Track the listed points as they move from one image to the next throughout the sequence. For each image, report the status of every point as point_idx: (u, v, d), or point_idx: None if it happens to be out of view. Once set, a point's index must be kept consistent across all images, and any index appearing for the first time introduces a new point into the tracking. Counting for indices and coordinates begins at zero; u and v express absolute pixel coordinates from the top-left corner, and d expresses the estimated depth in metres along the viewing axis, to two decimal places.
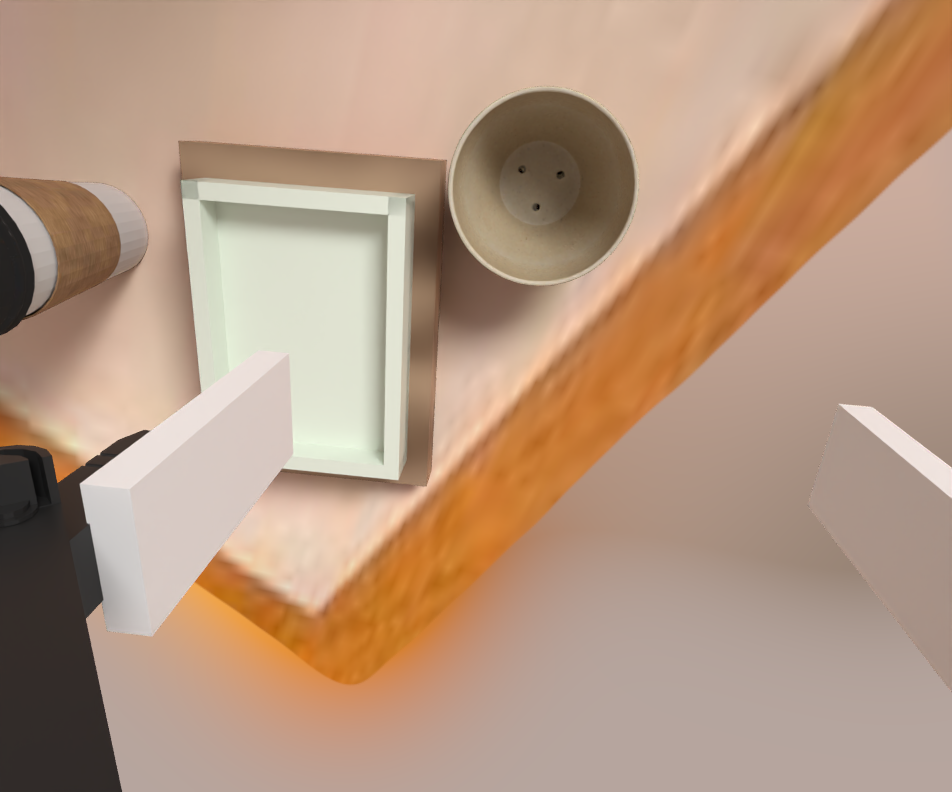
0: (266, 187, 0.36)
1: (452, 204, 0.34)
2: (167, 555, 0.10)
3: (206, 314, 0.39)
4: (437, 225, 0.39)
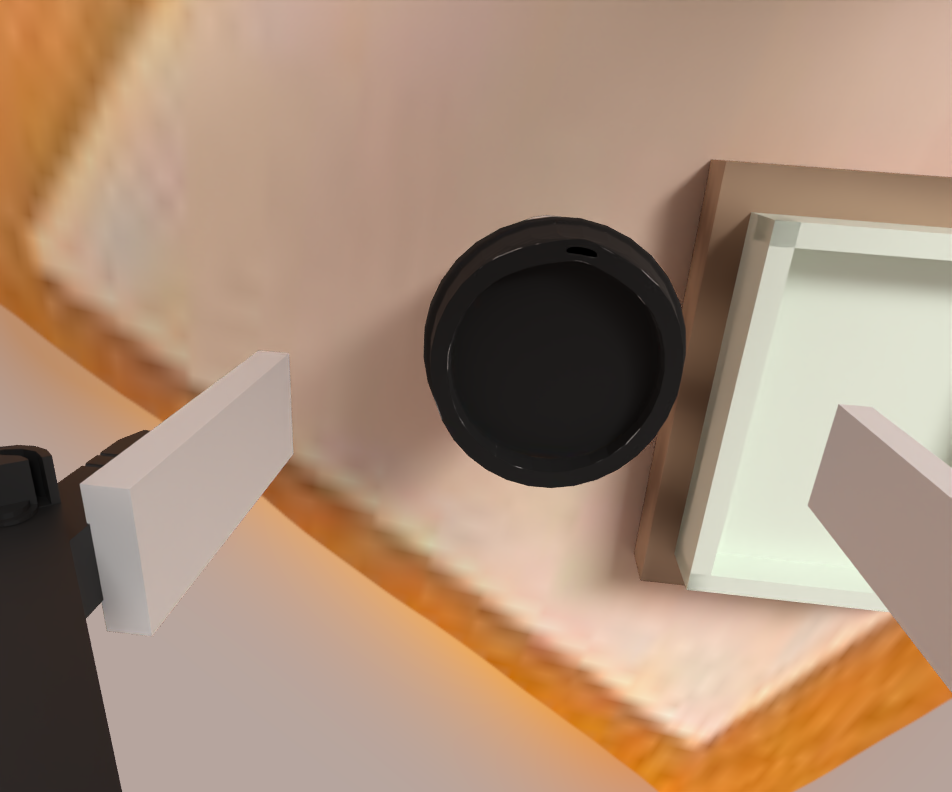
0: (903, 231, 0.25)
1: None
2: (167, 554, 0.10)
3: (750, 403, 0.28)
4: None
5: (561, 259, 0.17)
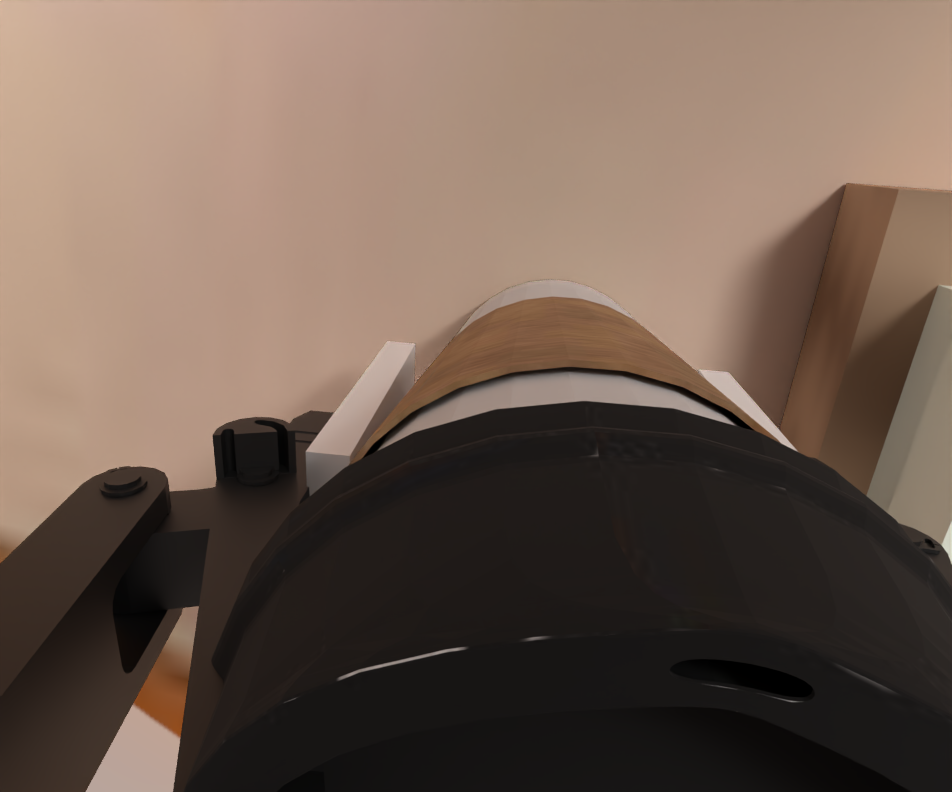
0: None
1: None
2: None
3: None
4: None
5: (643, 700, 0.04)
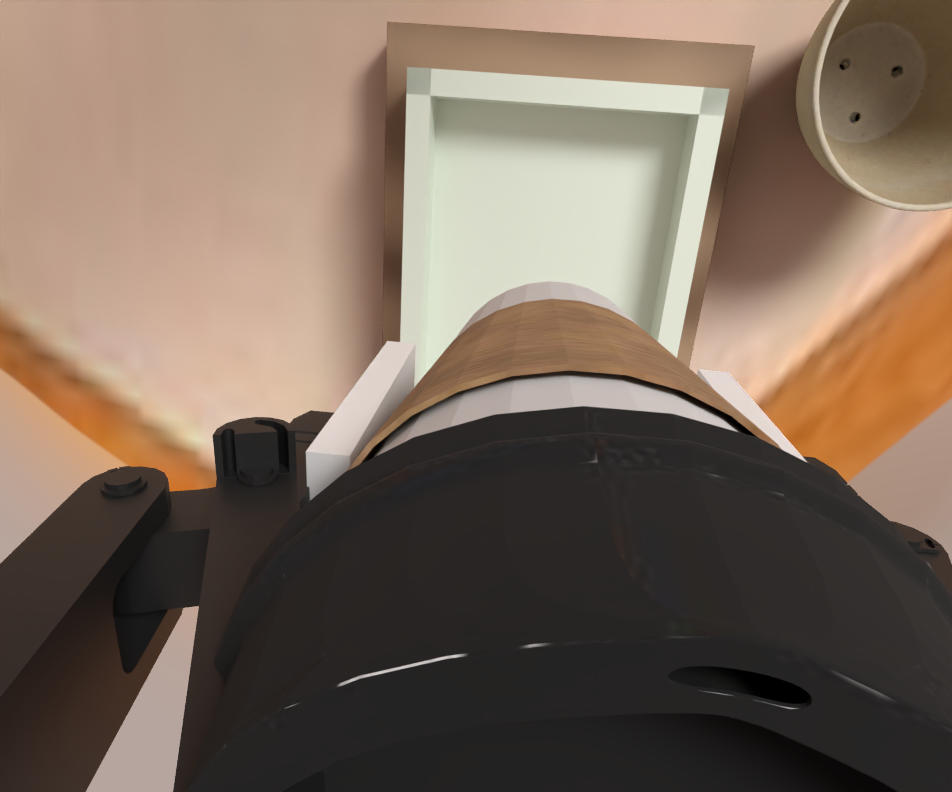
0: (528, 76, 0.26)
1: (818, 90, 0.24)
2: None
3: (420, 260, 0.29)
4: (734, 138, 0.29)
5: (641, 706, 0.04)
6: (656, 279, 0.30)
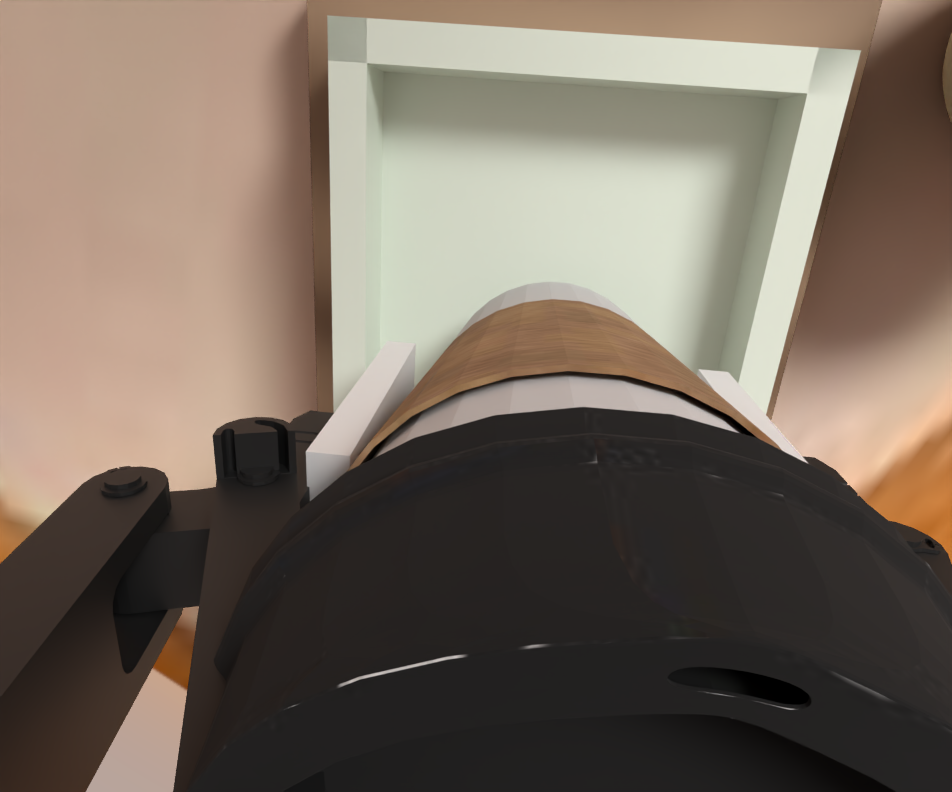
0: (526, 30, 0.16)
1: None
2: None
3: (360, 320, 0.19)
4: (844, 134, 0.19)
5: (641, 707, 0.04)
6: (718, 345, 0.20)
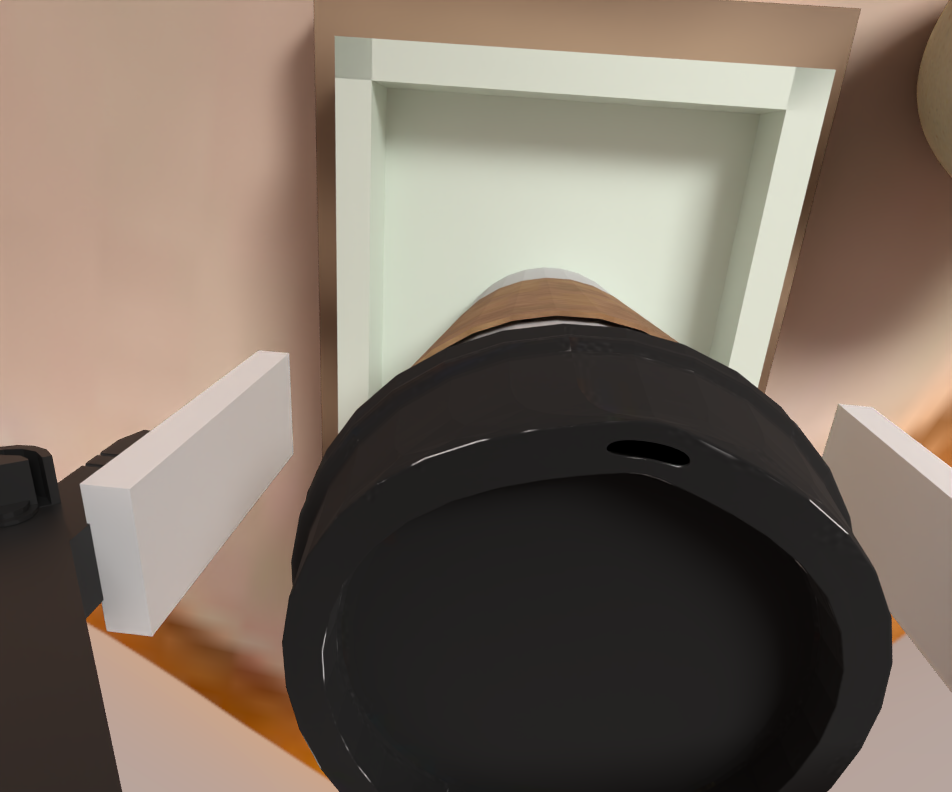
0: (521, 50, 0.17)
1: None
2: (167, 555, 0.10)
3: (364, 323, 0.20)
4: (824, 147, 0.20)
5: (593, 469, 0.06)
6: (706, 348, 0.21)
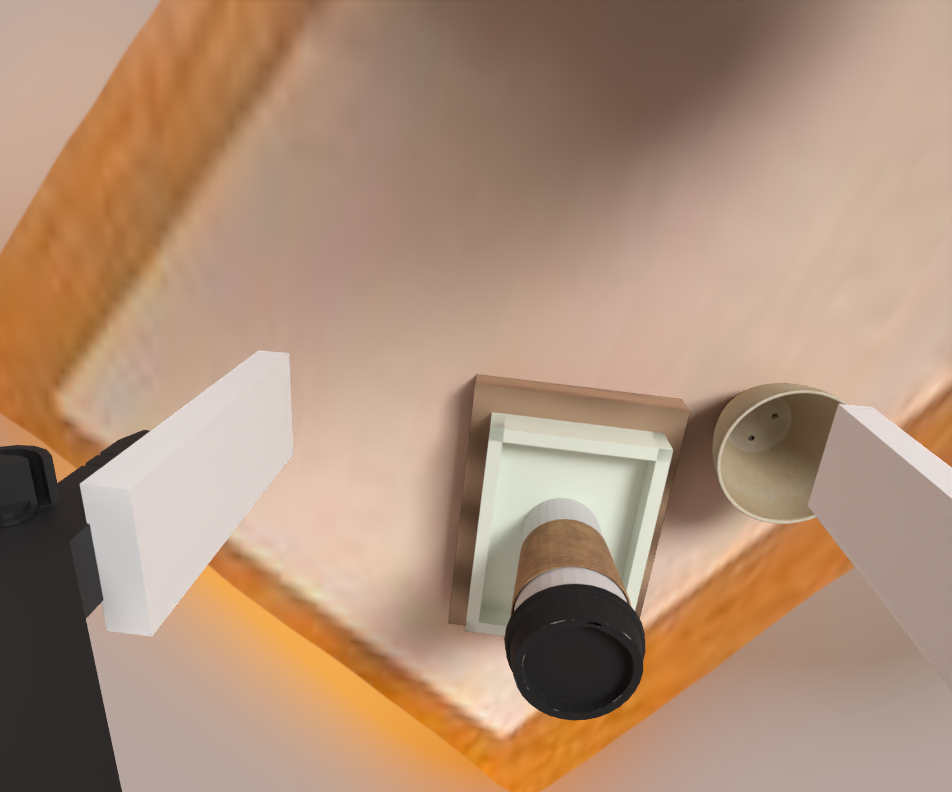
0: (559, 436, 0.45)
1: (719, 465, 0.43)
2: (167, 555, 0.10)
3: (489, 523, 0.48)
4: (678, 456, 0.48)
5: (584, 626, 0.35)
6: (630, 531, 0.49)
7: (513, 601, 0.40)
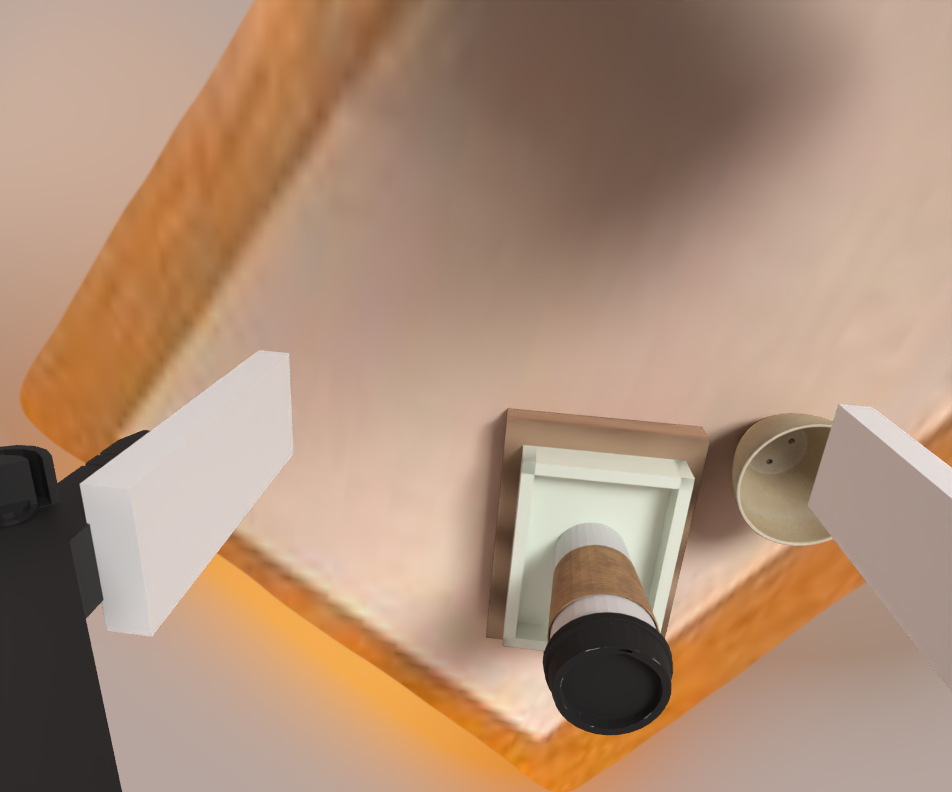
0: (587, 468, 0.48)
1: (739, 493, 0.46)
2: (167, 555, 0.10)
3: (523, 548, 0.51)
4: (699, 481, 0.51)
5: (616, 653, 0.38)
6: (656, 551, 0.53)
7: (549, 625, 0.44)
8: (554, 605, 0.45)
